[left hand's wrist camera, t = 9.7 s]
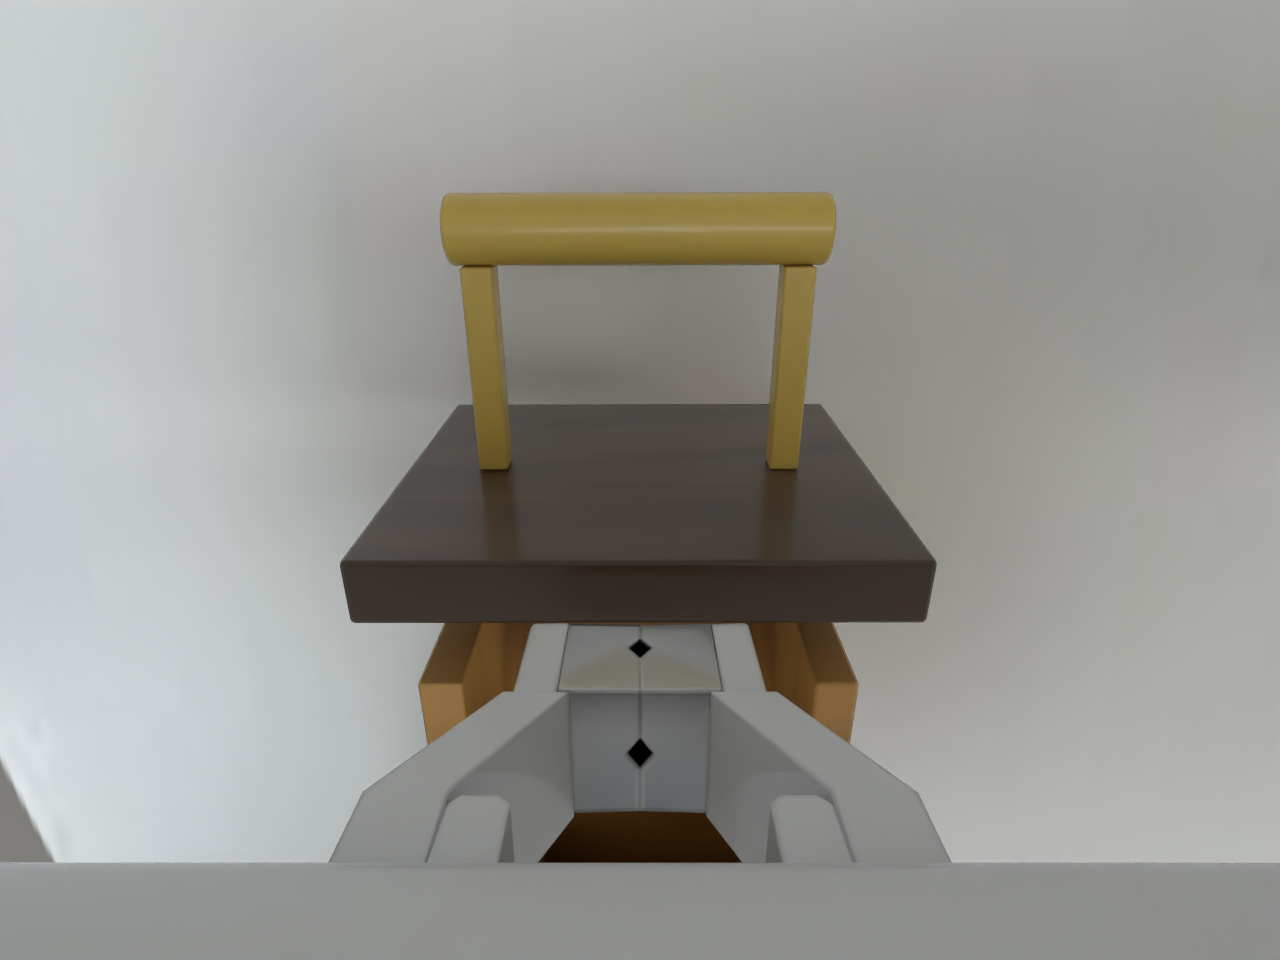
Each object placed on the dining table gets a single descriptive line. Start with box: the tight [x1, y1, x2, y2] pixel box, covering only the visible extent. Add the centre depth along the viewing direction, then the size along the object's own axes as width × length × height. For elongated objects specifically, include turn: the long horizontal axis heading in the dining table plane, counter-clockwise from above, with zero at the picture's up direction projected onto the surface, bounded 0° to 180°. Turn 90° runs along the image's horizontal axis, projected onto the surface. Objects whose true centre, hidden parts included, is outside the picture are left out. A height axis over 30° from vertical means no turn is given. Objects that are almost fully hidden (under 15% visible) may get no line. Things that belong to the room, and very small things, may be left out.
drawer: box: [340, 192, 937, 863], centre depth 18 cm, size 24×10×8 cm, turn 0°
